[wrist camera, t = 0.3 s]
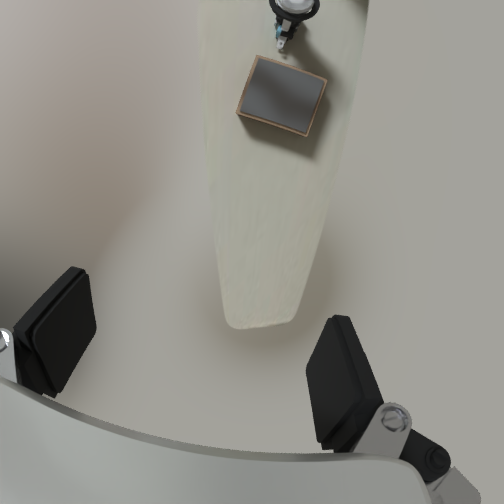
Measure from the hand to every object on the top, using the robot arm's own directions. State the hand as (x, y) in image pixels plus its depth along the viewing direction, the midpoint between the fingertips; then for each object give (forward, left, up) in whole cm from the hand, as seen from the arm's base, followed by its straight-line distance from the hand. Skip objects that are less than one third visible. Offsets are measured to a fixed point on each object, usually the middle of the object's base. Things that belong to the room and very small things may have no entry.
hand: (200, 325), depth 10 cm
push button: (-22, -1, -30) cm, 37 cm away
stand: (-12, +2, -30) cm, 32 cm away
